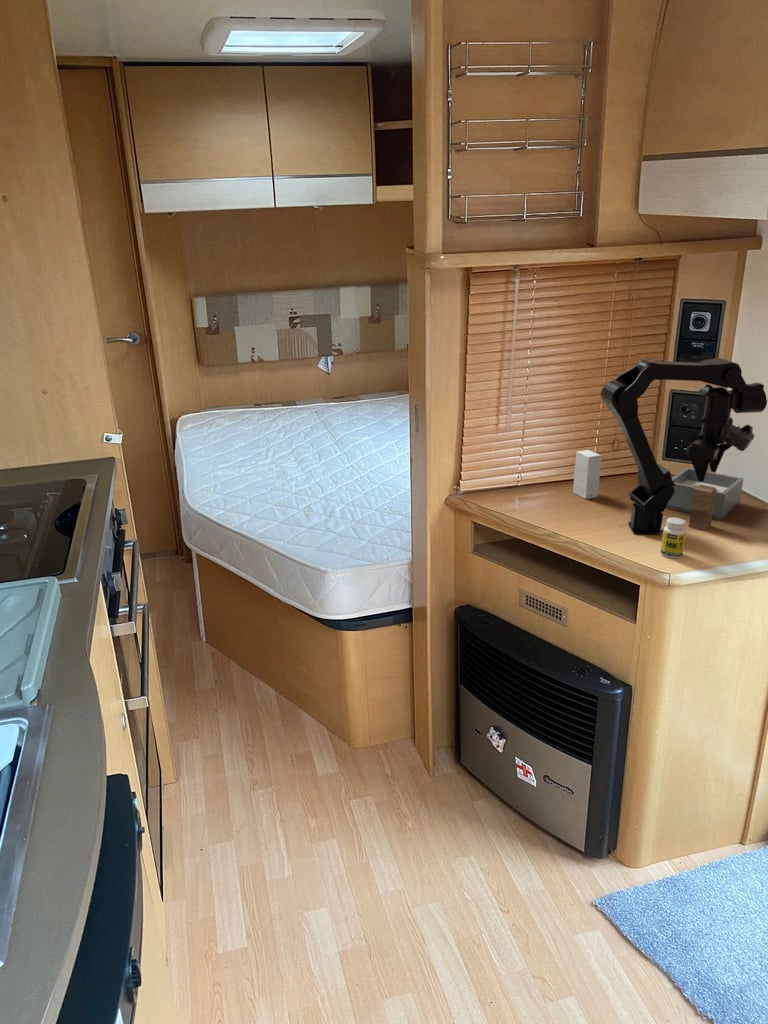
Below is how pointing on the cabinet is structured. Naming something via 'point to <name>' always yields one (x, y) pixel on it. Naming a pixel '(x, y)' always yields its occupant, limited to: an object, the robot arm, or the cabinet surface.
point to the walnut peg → (702, 507)
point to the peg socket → (724, 484)
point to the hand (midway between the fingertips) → (707, 476)
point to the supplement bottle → (673, 538)
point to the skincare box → (587, 474)
